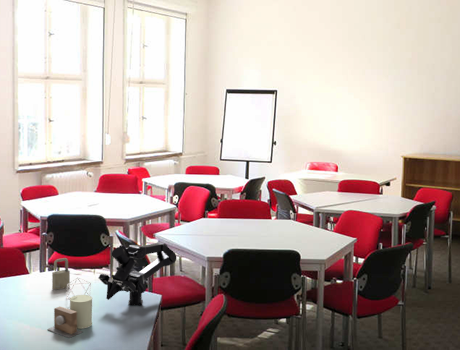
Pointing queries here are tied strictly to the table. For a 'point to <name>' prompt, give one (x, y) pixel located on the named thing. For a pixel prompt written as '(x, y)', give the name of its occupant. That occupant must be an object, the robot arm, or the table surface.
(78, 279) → the geometric polyhedron
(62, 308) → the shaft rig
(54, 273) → the padlock
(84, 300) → the can
